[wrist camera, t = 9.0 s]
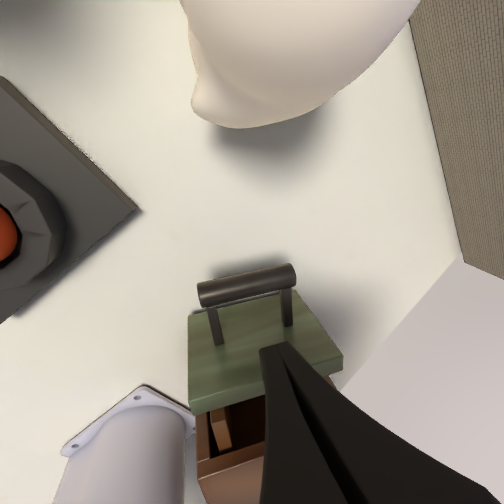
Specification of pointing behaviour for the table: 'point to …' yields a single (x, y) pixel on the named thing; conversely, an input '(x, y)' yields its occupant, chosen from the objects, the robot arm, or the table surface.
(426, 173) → the table surface
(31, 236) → the button box
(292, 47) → the figurine
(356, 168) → the table surface
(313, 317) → the drawer
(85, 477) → the robot arm
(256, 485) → the cabinet
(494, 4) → the house
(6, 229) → the button
